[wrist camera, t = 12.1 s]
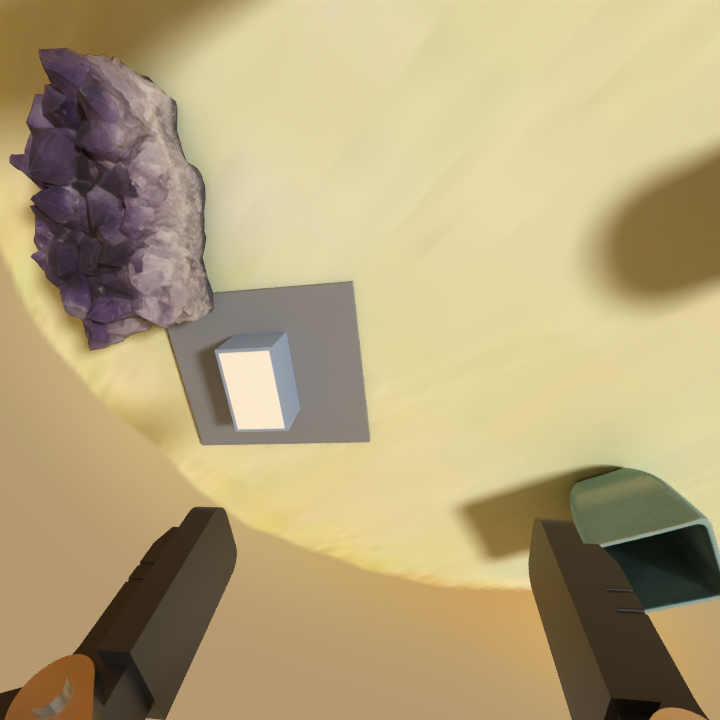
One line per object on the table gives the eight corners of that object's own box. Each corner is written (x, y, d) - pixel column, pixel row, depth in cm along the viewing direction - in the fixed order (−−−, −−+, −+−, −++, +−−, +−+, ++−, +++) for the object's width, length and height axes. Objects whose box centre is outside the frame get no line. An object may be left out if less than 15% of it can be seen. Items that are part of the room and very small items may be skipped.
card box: (252, 410, 39) (235, 432, 35) (234, 334, 36) (214, 350, 32) (300, 408, 38) (288, 431, 34) (286, 331, 35) (271, 347, 31)
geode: (53, 73, 30) (-89, -1, 20) (204, 80, 30) (135, 10, 20) (100, 329, 36) (11, 365, 27) (225, 333, 36) (179, 369, 27)
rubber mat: (161, 296, 36) (157, 298, 35) (352, 281, 33) (351, 282, 32) (205, 442, 42) (202, 445, 41) (370, 438, 39) (369, 442, 38)
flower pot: (574, 536, 41) (616, 621, 32) (545, 474, 38) (583, 550, 30) (665, 511, 38) (735, 597, 30) (640, 443, 36) (710, 517, 28)
